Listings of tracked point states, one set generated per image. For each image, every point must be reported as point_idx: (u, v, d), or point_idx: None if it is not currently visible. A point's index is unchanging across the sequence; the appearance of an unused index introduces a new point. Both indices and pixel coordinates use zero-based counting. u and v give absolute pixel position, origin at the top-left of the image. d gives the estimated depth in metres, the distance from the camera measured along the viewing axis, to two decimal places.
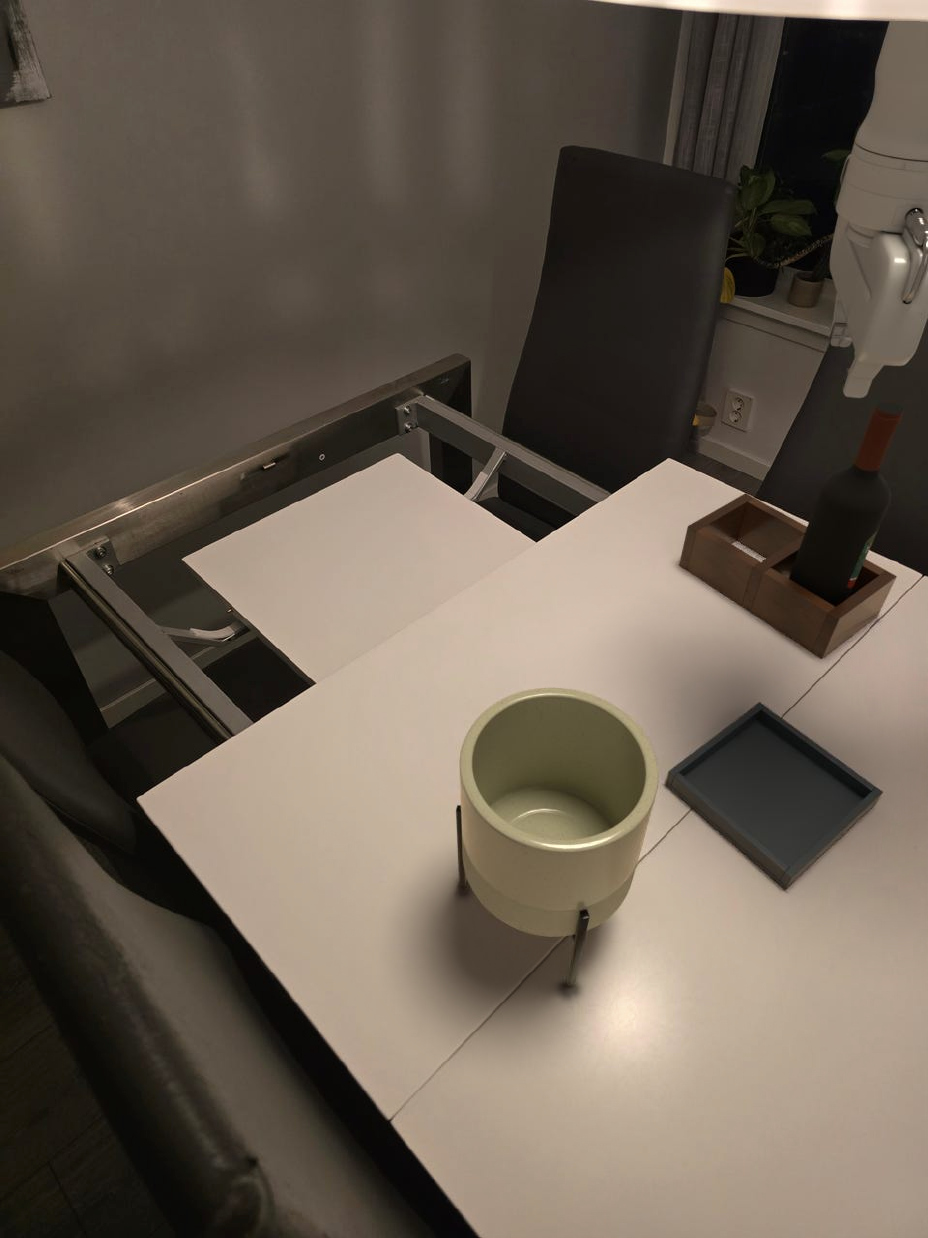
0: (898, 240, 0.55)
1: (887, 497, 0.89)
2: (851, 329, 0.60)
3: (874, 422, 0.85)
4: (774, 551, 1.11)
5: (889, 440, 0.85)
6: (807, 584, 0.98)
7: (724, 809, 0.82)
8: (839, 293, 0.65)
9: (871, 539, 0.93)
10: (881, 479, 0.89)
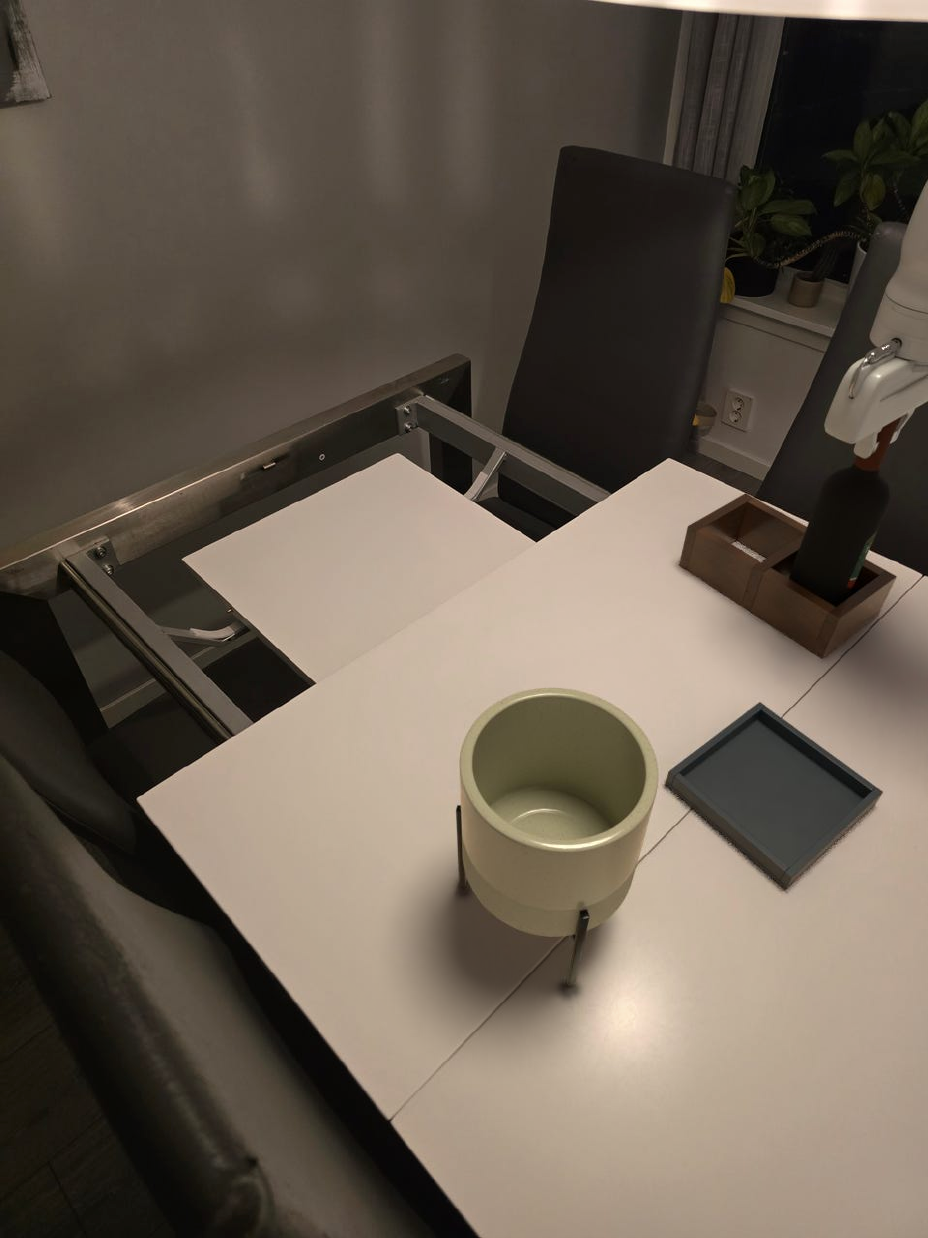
0: None
1: (887, 497, 0.89)
2: None
3: None
4: (774, 551, 1.11)
5: (889, 440, 0.85)
6: (807, 584, 0.98)
7: (724, 809, 0.82)
8: None
9: (871, 539, 0.93)
10: (881, 479, 0.89)
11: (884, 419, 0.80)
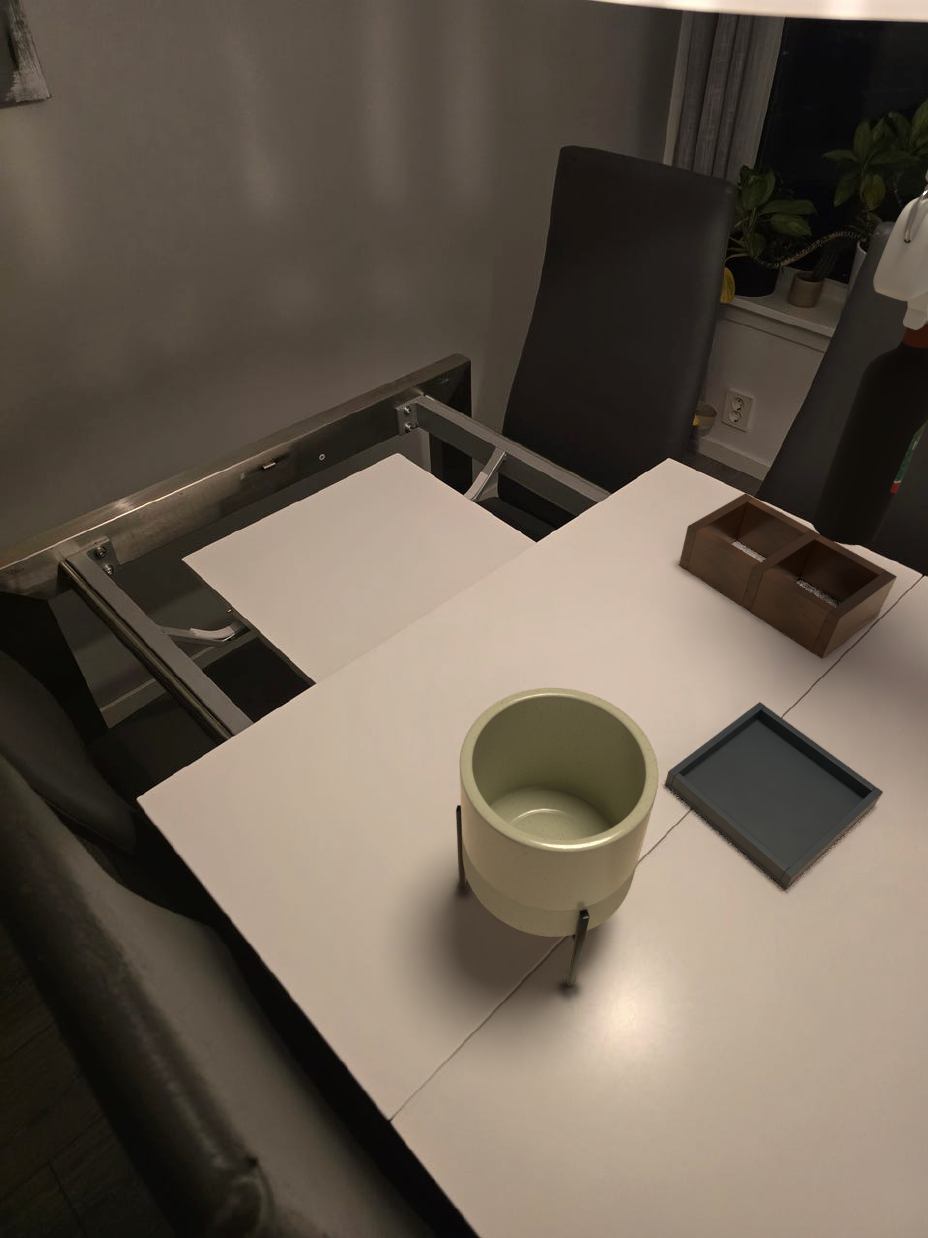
0: None
1: None
2: None
3: None
4: (774, 551, 1.11)
5: None
6: (845, 489, 0.88)
7: (724, 809, 0.82)
8: None
9: (919, 432, 0.82)
10: None
11: None
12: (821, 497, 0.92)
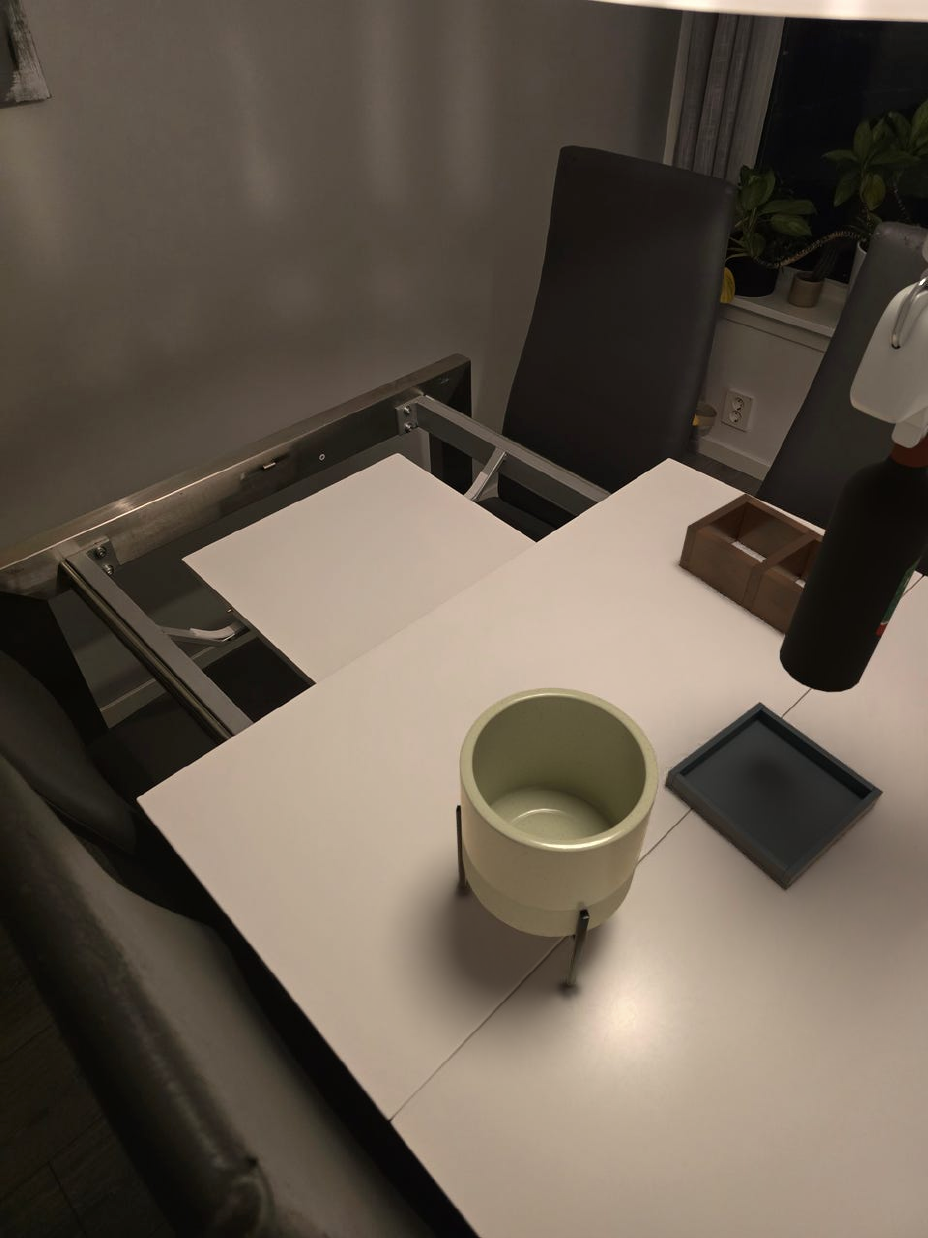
0: None
1: None
2: None
3: None
4: (774, 551, 1.11)
5: None
6: (819, 629, 0.69)
7: (724, 809, 0.82)
8: None
9: (913, 567, 0.63)
10: None
11: None
12: (790, 631, 0.73)
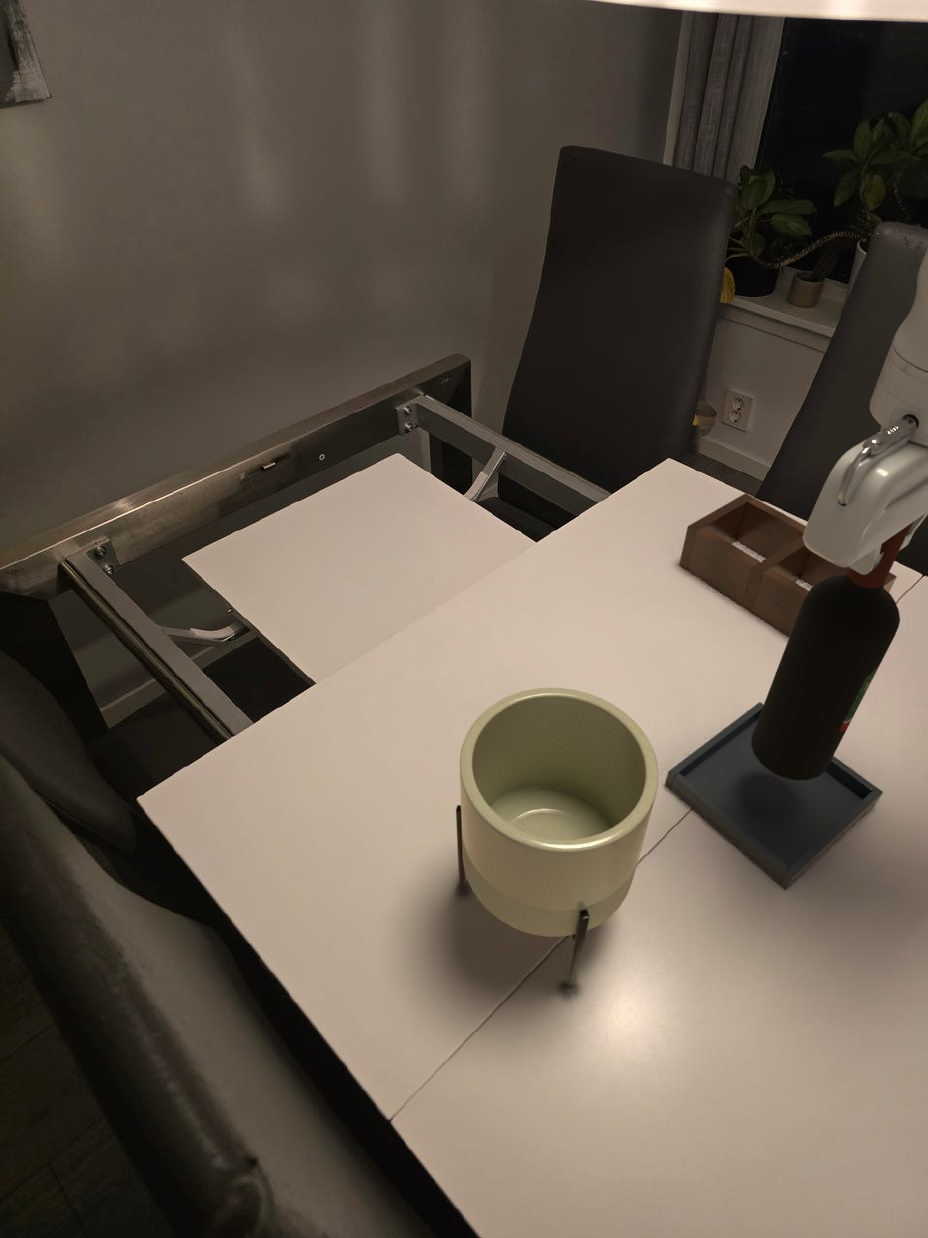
0: None
1: (894, 623, 0.63)
2: None
3: None
4: (774, 551, 1.11)
5: (897, 549, 0.59)
6: (786, 725, 0.72)
7: (724, 809, 0.82)
8: None
9: (872, 674, 0.67)
10: (886, 597, 0.63)
11: (892, 529, 0.54)
12: (760, 721, 0.77)
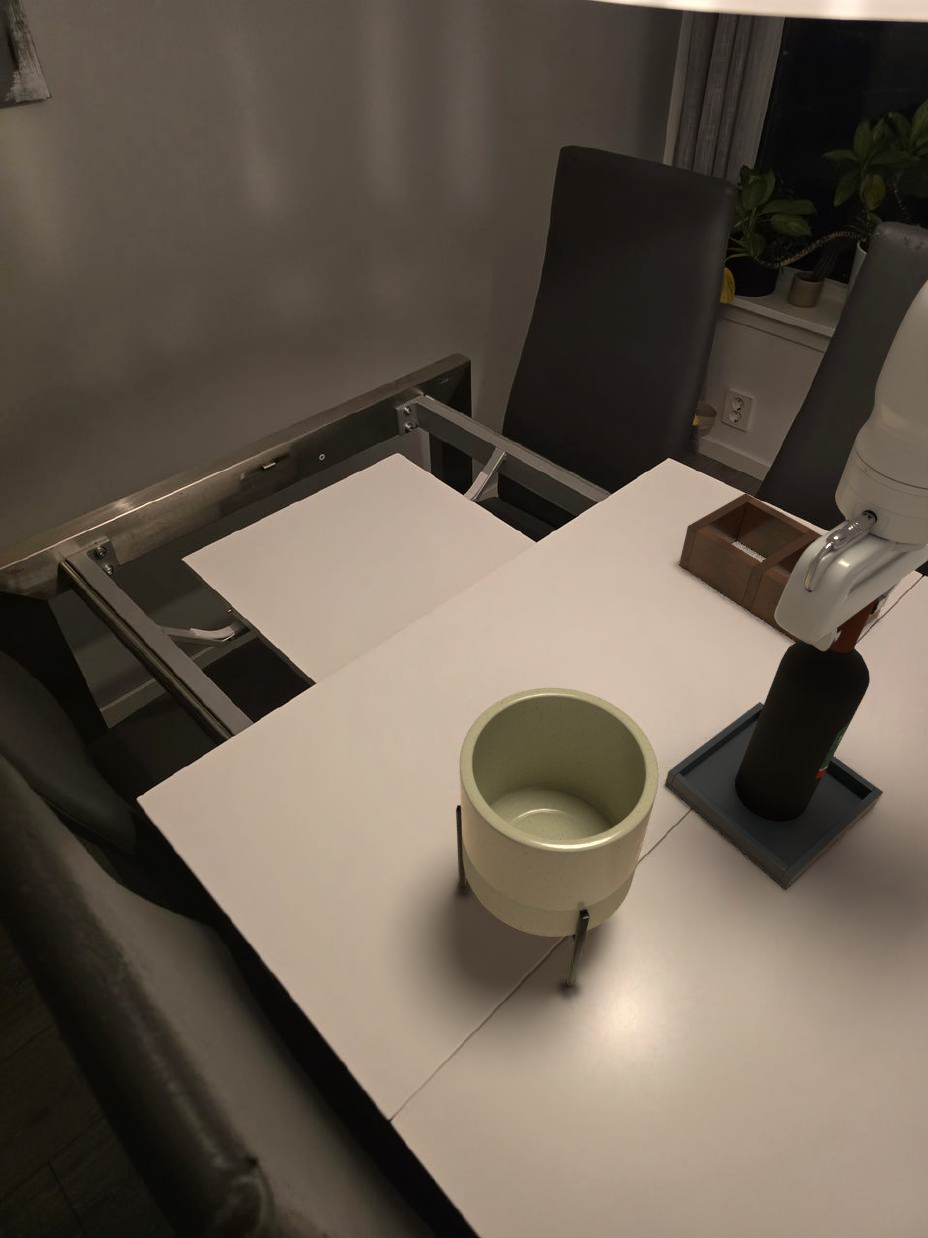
0: None
1: (864, 683, 0.68)
2: (808, 592, 0.62)
3: None
4: (774, 551, 1.11)
5: (865, 619, 0.65)
6: (766, 771, 0.78)
7: (724, 809, 0.82)
8: None
9: (845, 728, 0.72)
10: (856, 659, 0.69)
11: (855, 608, 0.59)
12: (743, 766, 0.82)
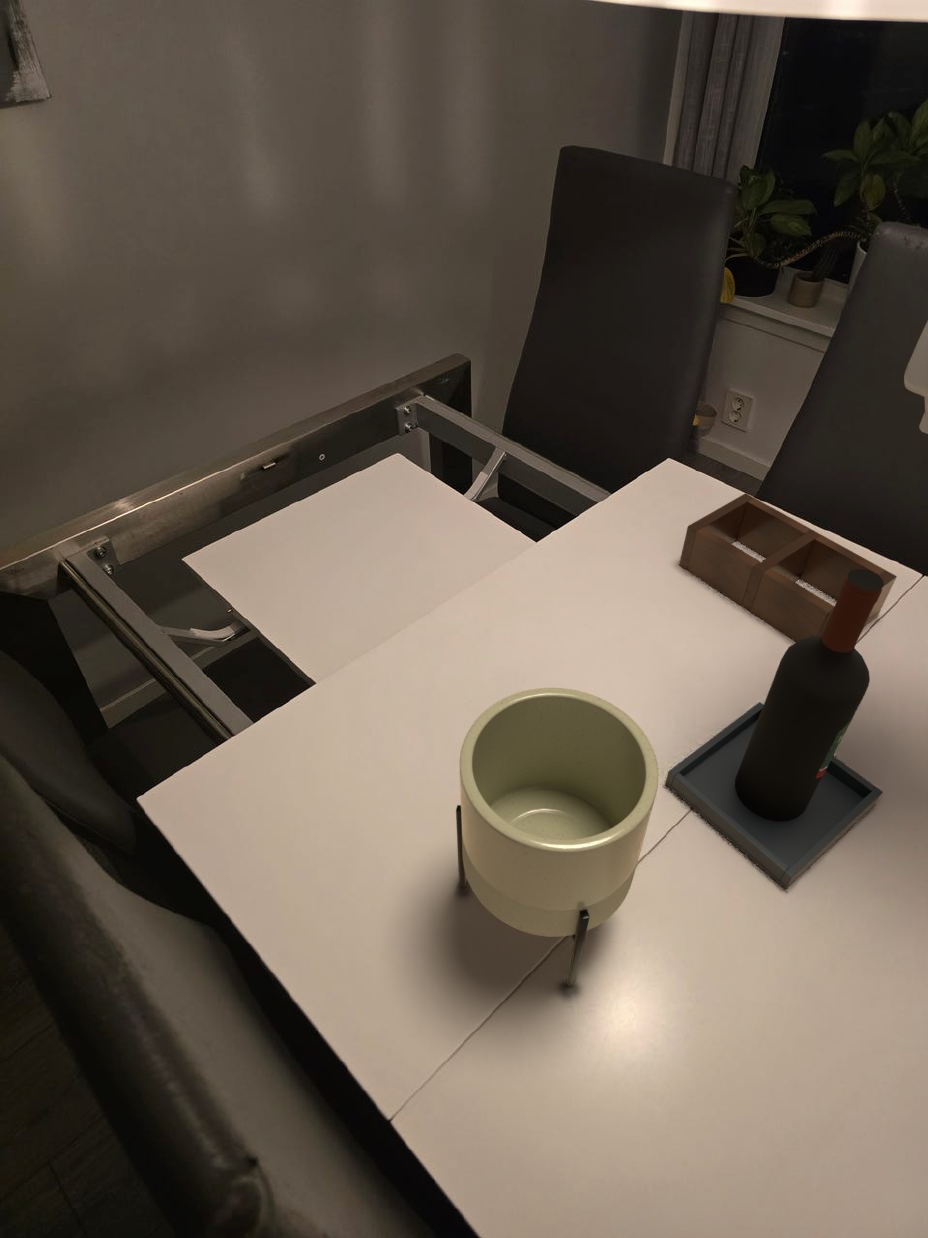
0: None
1: (864, 683, 0.68)
2: None
3: (845, 597, 0.64)
4: (774, 551, 1.11)
5: (865, 619, 0.65)
6: (766, 771, 0.78)
7: (724, 809, 0.82)
8: None
9: (845, 728, 0.72)
10: (856, 659, 0.69)
11: None
12: (743, 766, 0.82)
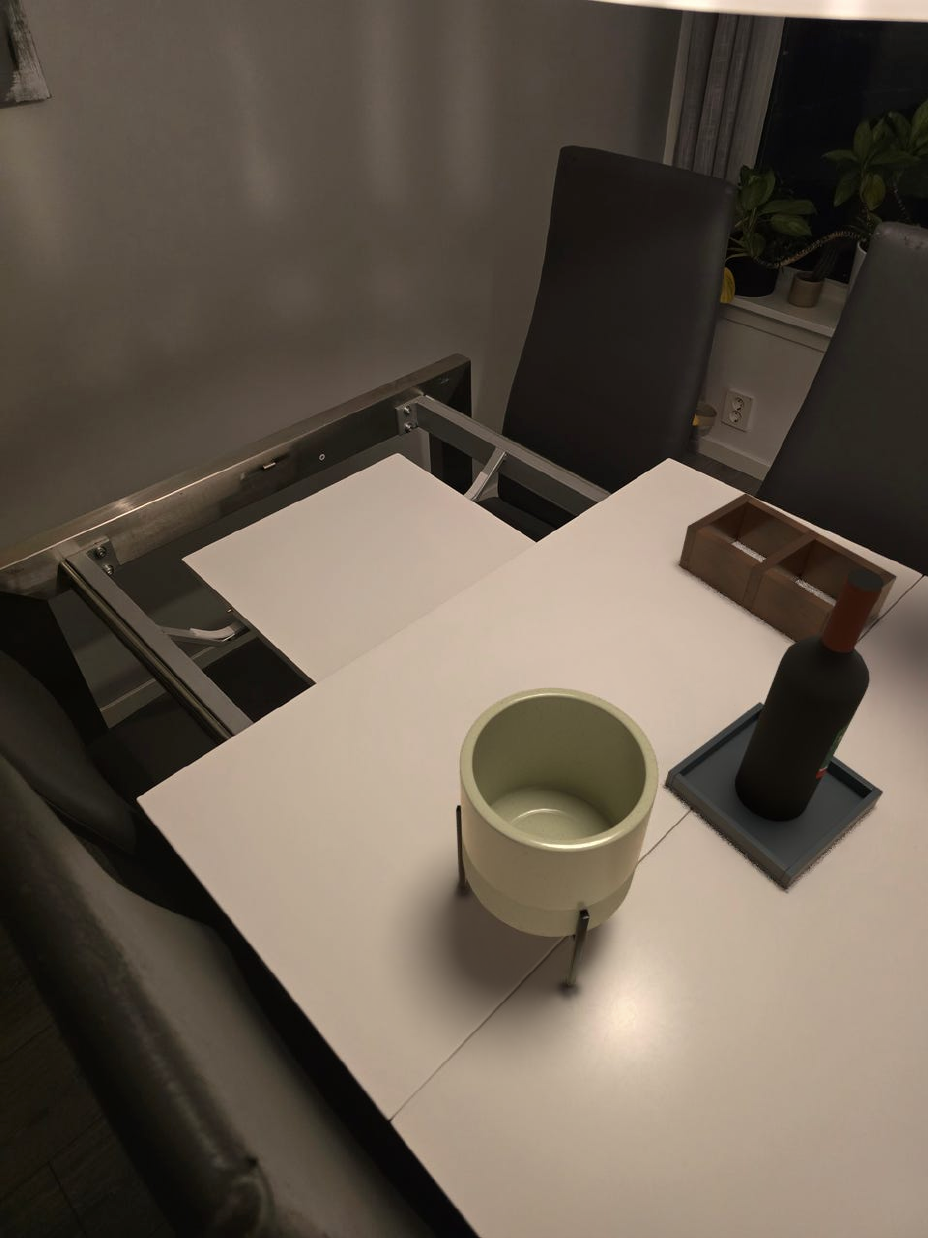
0: None
1: (864, 683, 0.68)
2: None
3: (845, 597, 0.64)
4: (774, 551, 1.11)
5: (865, 619, 0.65)
6: (766, 771, 0.78)
7: (724, 809, 0.82)
8: None
9: (845, 728, 0.72)
10: (856, 659, 0.69)
11: None
12: (743, 766, 0.82)
